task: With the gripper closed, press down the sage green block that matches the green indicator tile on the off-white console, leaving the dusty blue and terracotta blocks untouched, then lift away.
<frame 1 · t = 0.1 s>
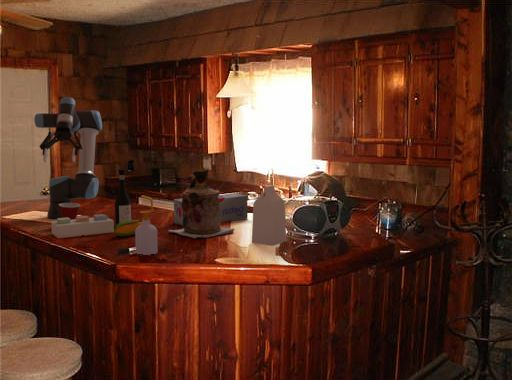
hand: (59, 161, 274), 36 cm above the table, tool tilted 35°, fingers open, 13 cm apart
console: (83, 232, 281), on the table
cookie jar: (201, 233, 281), on the table
terracotta block: (82, 221, 280), point 5 cm above the table, slide at 0.0 cm
soda pack: (211, 221, 313), on the table
sage green block: (63, 223, 275), point 5 cm above the table, slide at 0.0 cm
soap bottle: (146, 253, 239), on the table
corn: (131, 235, 276), on the table
plastic cup: (70, 226, 297), on the table
wine bottle: (123, 226, 299), on the table
dusty blue block: (100, 220, 285), point 5 cm above the table, slide at 0.0 cm
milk: (269, 242, 261), on the table
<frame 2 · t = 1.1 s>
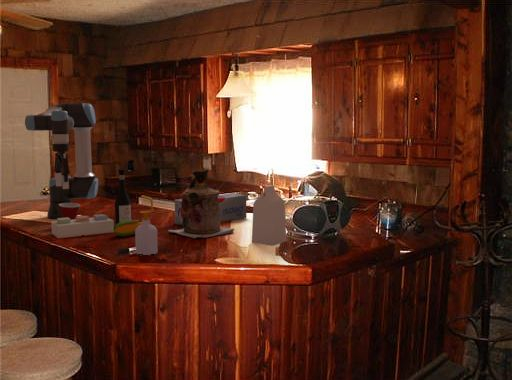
hand: (62, 187, 273), 23 cm above the table, tool pointing down, fingers open, 13 cm apart
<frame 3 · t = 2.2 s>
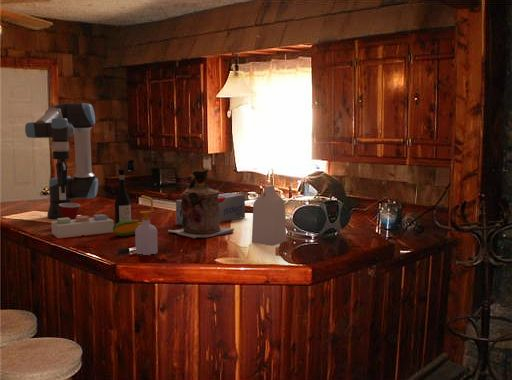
hand: (62, 199, 273), 17 cm above the table, tool pointing down, fingers closed
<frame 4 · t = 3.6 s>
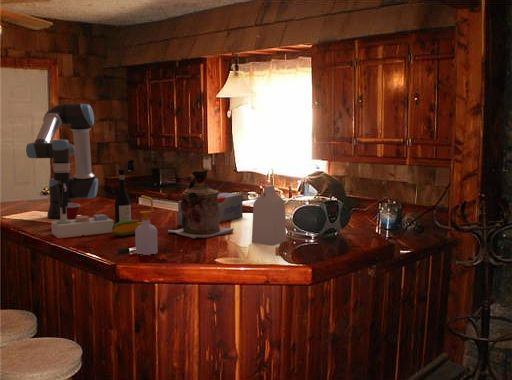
hand: (63, 220, 275), 7 cm above the table, tool pointing down, fingers closed
sage green block: (64, 225, 275), point 4 cm above the table, slide at 1.0 cm, touching gripper
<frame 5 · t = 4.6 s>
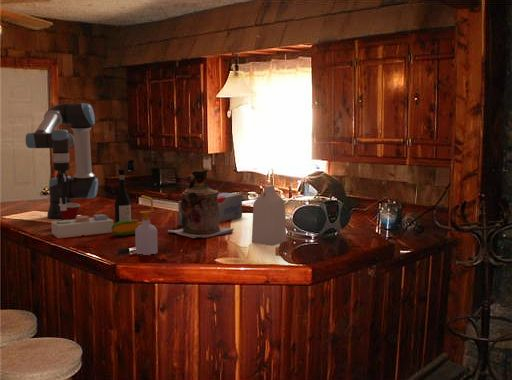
hand: (63, 210, 275), 12 cm above the table, tool pointing down, fingers closed
sage green block: (64, 226, 275), point 4 cm above the table, slide at 1.2 cm
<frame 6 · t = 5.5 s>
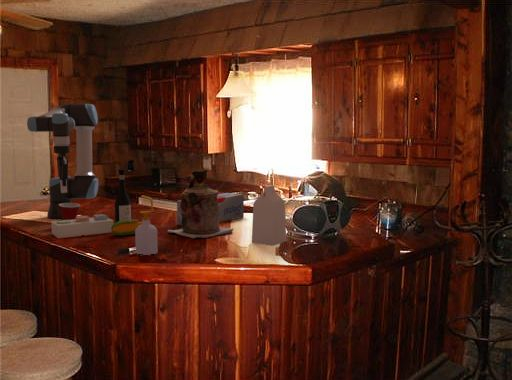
hand: (64, 192, 281), 20 cm above the table, tool pointing down, fingers closed
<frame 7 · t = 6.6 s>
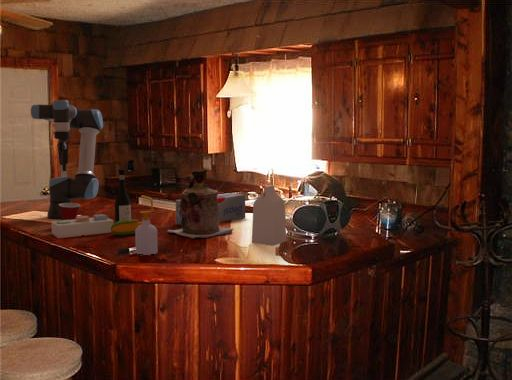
hand: (64, 177, 289), 26 cm above the table, tool pointing down, fingers closed
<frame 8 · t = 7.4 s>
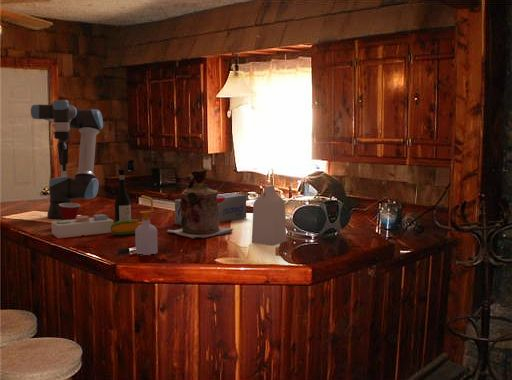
hand: (64, 177, 289), 26 cm above the table, tool pointing down, fingers closed
at the end: sage green block slide at 1.2 cm; terracotta block slide at 0.0 cm; dusty blue block slide at 0.0 cm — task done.
